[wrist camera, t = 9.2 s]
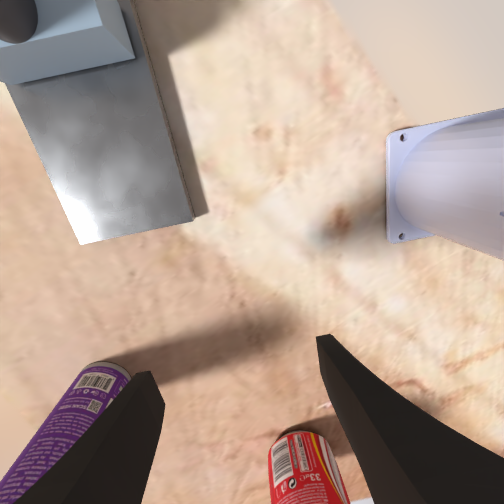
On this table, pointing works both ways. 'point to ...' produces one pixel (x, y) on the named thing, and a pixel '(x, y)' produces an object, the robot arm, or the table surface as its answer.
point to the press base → (107, 144)
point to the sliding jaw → (59, 37)
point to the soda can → (304, 471)
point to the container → (64, 426)
